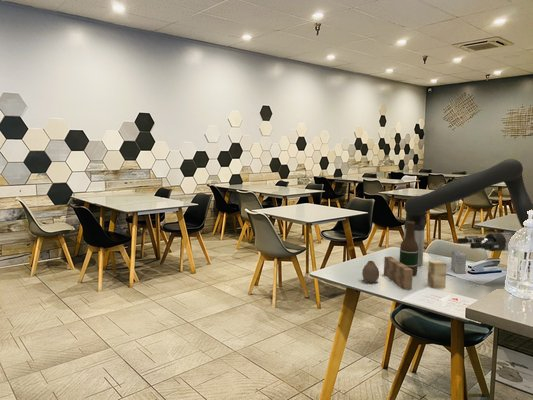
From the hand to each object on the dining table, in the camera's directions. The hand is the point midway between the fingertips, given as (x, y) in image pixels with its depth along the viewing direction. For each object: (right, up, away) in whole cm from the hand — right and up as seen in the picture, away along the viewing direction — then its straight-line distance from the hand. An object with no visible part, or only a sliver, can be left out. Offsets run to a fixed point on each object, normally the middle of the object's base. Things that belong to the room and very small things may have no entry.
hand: (464, 243), depth 167 cm
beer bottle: (-17, -16, +17) cm, 29 cm away
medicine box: (+7, -15, +21) cm, 27 cm away
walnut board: (-26, -17, +6) cm, 31 cm away
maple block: (-11, -18, +1) cm, 21 cm away
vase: (-37, -17, +6) cm, 41 cm away
